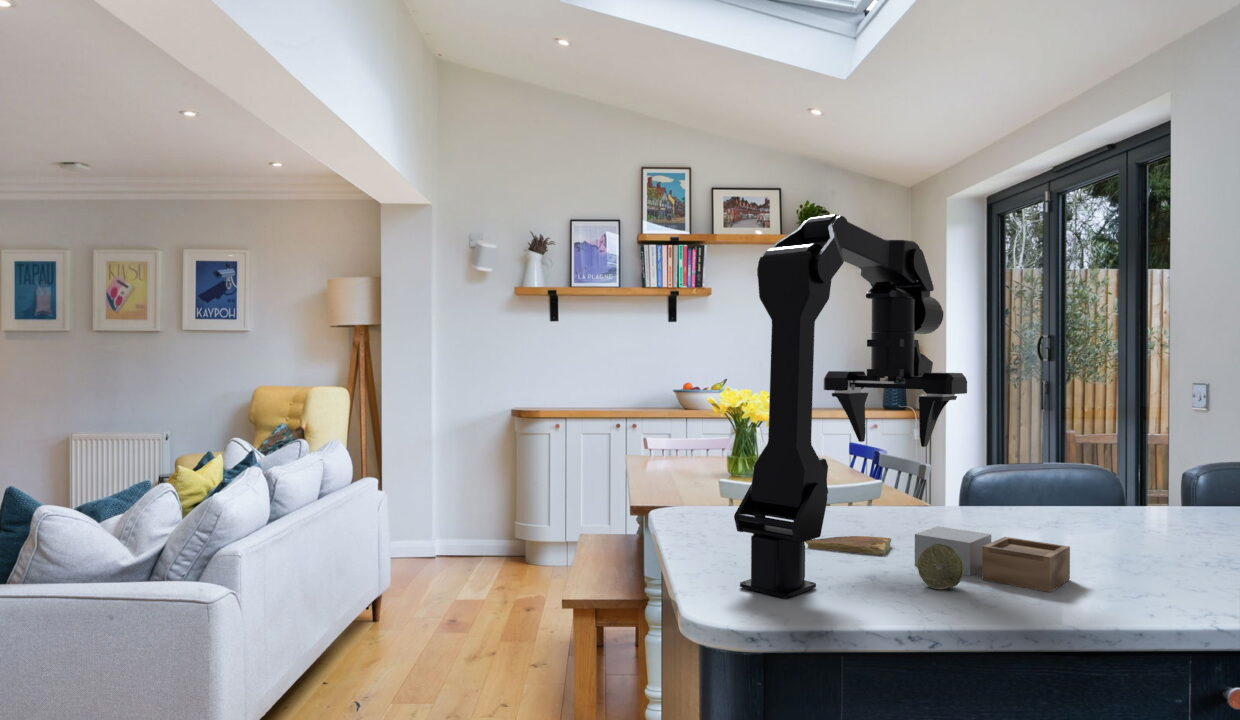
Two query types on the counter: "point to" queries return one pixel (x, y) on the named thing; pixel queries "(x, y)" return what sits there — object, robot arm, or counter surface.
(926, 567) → the lime
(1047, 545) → the brown hollow rimmed box
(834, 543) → the shard
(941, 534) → the grey stone block
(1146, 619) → the counter surface
